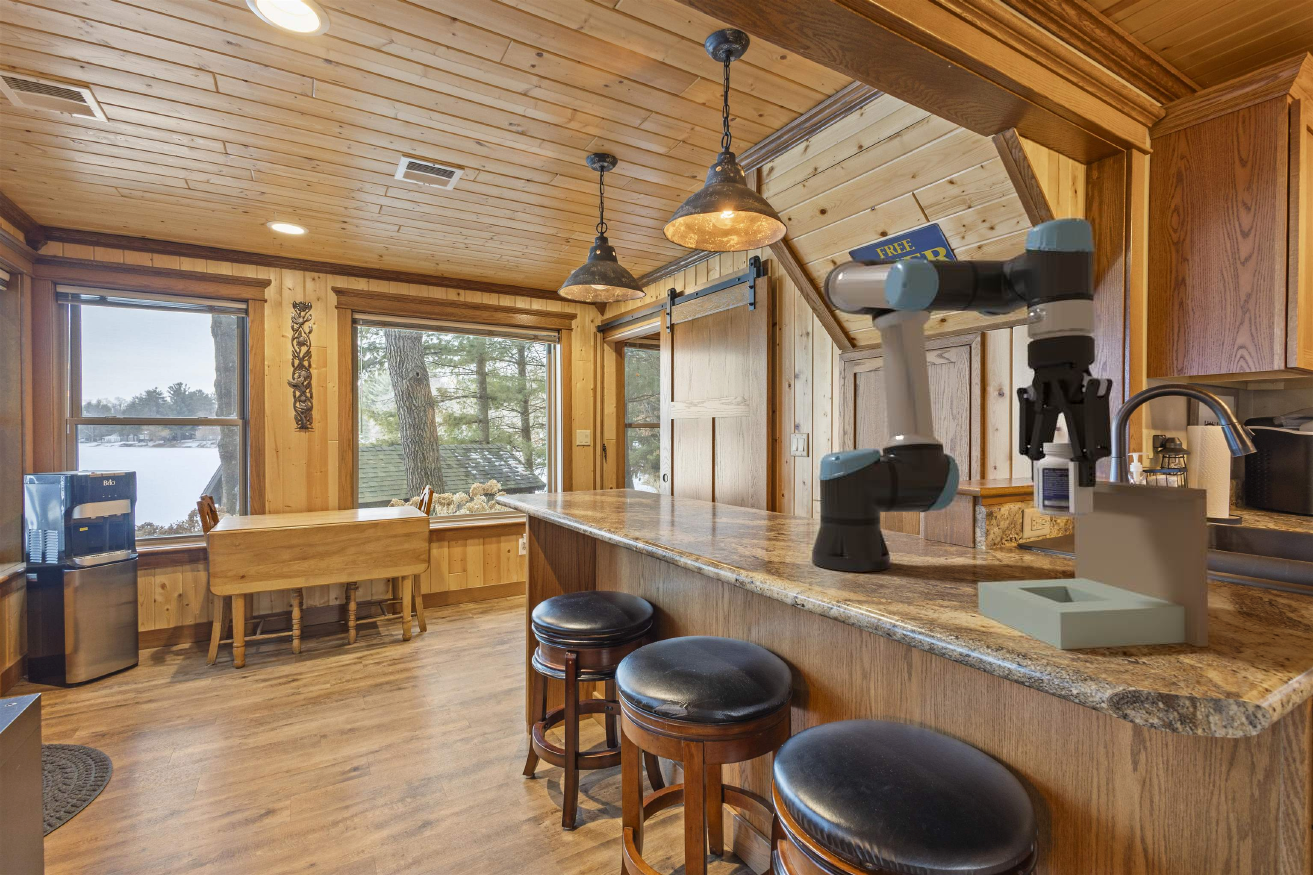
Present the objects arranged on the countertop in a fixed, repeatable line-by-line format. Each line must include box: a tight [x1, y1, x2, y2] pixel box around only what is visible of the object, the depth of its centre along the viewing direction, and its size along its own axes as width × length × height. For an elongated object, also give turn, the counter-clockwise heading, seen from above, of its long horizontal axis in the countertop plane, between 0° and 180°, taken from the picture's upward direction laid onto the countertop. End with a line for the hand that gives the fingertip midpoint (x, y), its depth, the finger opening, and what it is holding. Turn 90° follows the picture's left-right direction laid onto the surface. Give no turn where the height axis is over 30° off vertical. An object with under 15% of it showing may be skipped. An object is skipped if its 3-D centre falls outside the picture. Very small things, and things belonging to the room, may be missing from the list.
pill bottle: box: [1037, 442, 1086, 518], centre depth 79 cm, size 5×5×10 cm
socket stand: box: [977, 480, 1209, 651], centre depth 80 cm, size 18×18×19 cm
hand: (1062, 509), depth 79 cm, fingers closed on pill bottle, 5 cm apart
